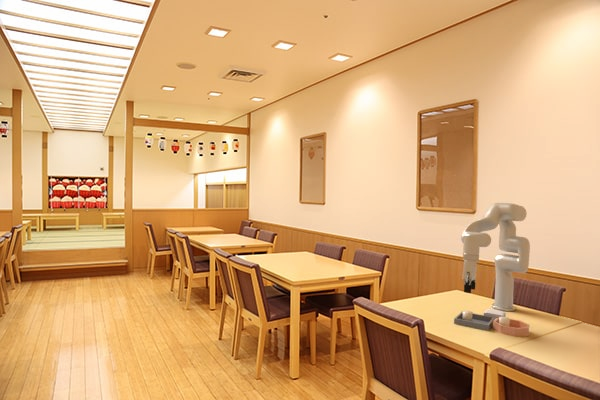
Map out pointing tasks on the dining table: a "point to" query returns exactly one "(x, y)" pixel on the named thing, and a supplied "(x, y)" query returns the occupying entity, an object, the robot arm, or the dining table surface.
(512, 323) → the bowl
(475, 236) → the robot arm
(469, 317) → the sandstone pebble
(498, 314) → the charger
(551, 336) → the dining table surface
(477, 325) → the parts tray
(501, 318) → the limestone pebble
